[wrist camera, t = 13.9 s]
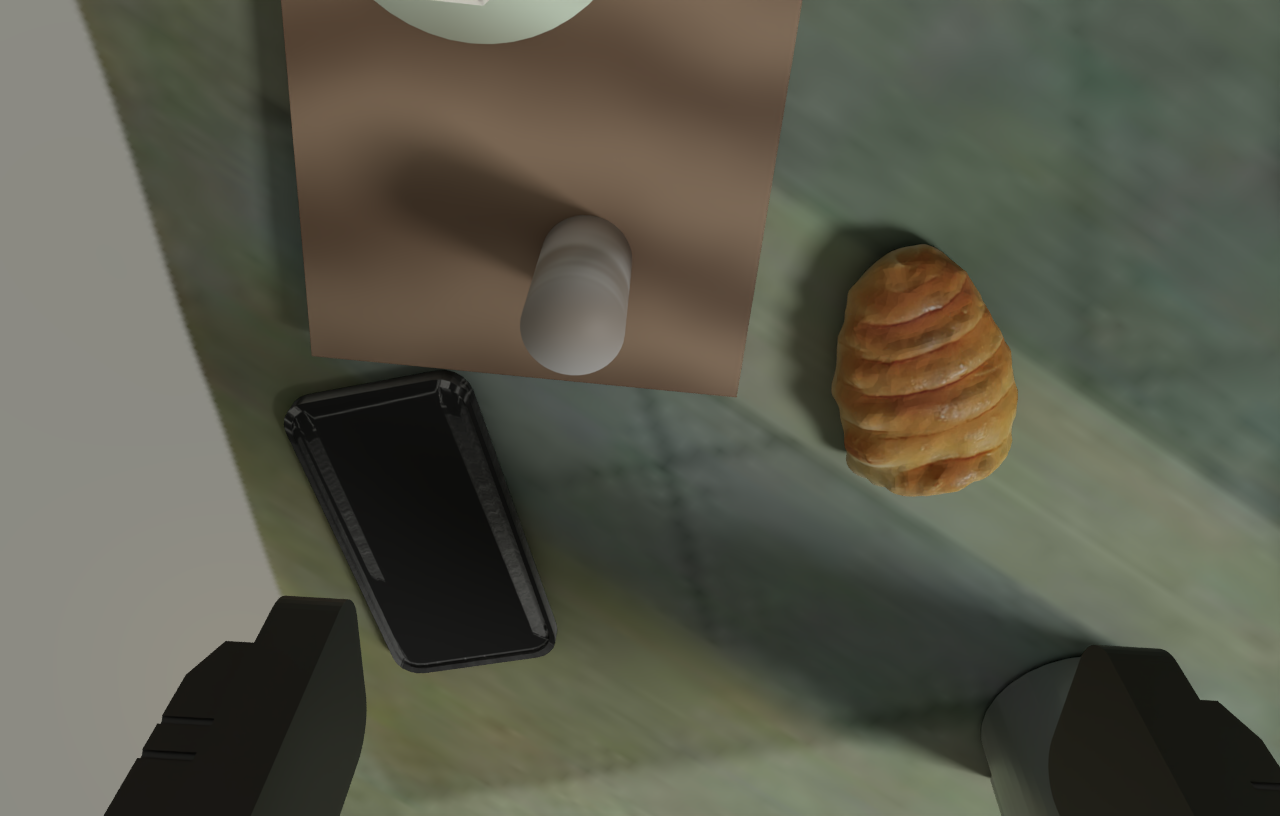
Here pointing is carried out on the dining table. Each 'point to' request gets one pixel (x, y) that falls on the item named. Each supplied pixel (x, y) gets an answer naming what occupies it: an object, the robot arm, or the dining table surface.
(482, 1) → the cap
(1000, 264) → the dining table surface
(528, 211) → the board
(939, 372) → the pastry
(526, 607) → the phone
